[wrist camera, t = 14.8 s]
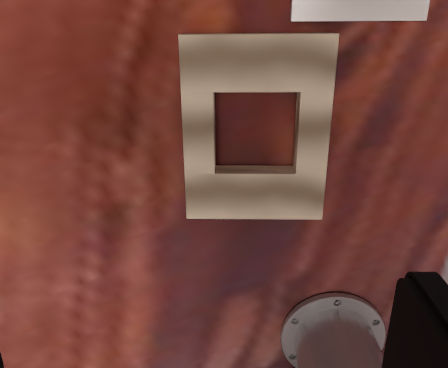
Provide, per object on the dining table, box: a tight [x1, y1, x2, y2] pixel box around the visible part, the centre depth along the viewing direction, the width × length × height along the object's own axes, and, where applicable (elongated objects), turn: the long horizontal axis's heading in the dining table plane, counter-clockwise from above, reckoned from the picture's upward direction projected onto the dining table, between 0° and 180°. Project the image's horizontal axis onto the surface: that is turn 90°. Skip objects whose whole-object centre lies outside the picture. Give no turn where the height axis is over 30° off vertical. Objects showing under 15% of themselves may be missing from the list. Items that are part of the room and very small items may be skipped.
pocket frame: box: [178, 33, 339, 220], centre depth 40 cm, size 18×14×2 cm
